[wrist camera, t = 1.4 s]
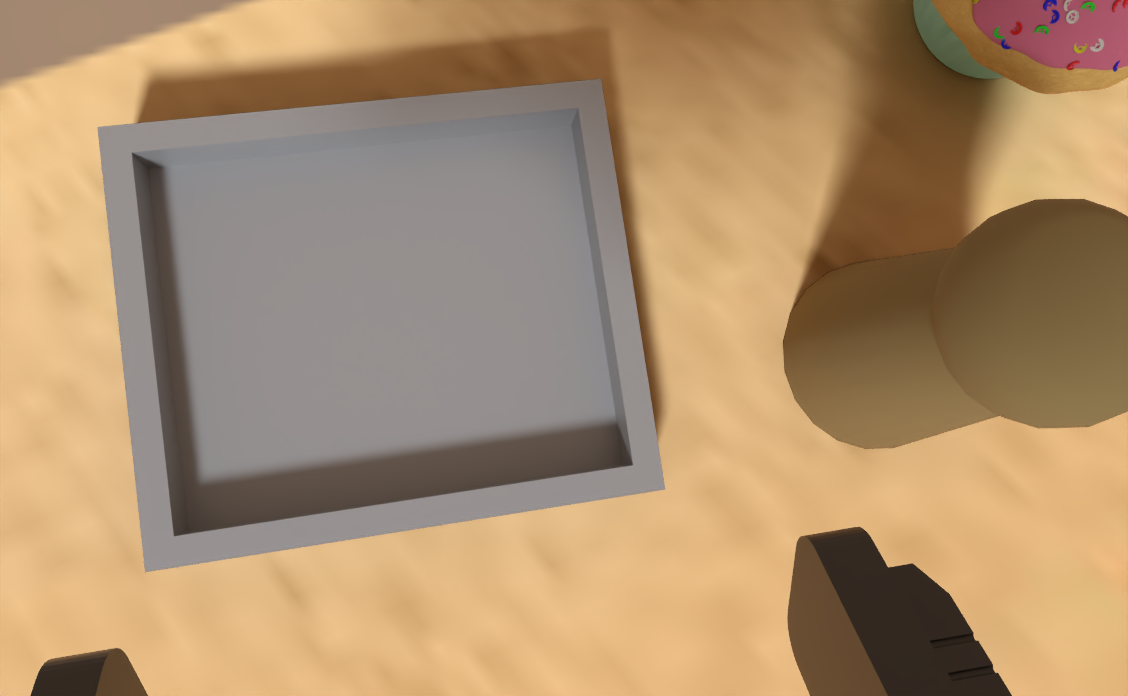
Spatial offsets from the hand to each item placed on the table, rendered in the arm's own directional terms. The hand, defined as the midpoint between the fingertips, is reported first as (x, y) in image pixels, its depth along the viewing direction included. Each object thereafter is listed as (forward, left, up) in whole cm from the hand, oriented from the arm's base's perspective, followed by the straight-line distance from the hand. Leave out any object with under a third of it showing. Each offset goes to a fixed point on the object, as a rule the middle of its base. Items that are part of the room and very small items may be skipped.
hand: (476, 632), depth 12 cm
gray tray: (-1, +6, -17) cm, 18 cm away
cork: (+14, +3, -17) cm, 23 cm away
